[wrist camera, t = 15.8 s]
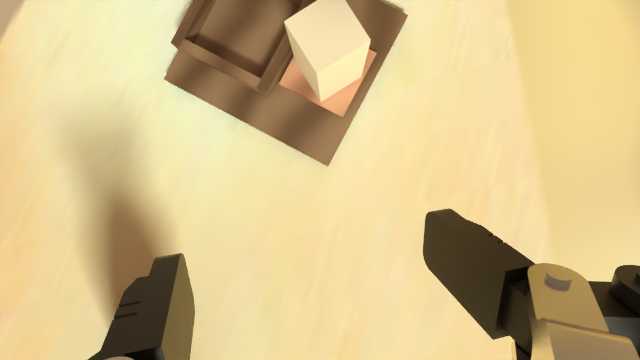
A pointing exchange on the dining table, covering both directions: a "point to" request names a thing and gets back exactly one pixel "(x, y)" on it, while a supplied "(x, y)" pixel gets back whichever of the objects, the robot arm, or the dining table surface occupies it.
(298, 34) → the cream block
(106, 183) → the dining table surface
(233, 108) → the puzzle board
